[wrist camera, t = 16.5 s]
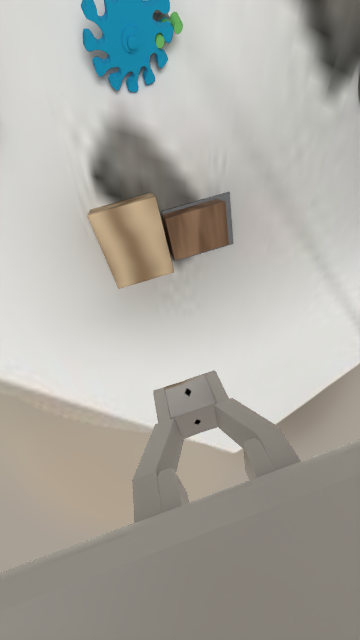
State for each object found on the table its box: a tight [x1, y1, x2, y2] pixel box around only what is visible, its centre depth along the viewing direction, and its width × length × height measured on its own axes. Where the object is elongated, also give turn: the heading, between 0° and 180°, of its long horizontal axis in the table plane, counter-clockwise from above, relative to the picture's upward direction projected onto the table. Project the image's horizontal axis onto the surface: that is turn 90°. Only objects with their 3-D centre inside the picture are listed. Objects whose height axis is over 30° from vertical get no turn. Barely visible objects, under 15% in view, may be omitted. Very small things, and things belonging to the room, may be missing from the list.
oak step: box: [87, 193, 174, 289], centre depth 38 cm, size 10×12×5 cm
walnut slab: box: [162, 199, 229, 260], centre depth 40 cm, size 4×7×10 cm
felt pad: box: [162, 192, 233, 261], centre depth 42 cm, size 12×9×1 cm
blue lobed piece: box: [81, 0, 183, 92], centre depth 25 cm, size 11×6×10 cm
